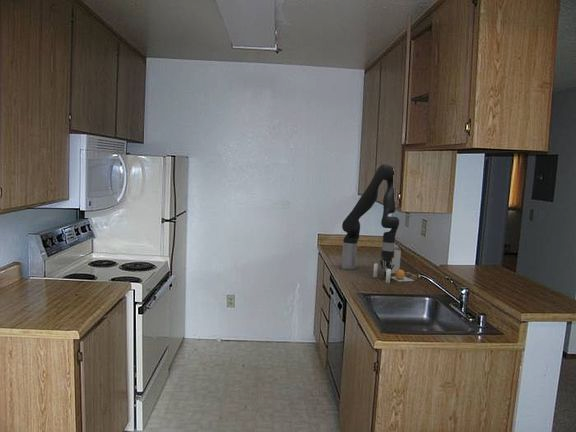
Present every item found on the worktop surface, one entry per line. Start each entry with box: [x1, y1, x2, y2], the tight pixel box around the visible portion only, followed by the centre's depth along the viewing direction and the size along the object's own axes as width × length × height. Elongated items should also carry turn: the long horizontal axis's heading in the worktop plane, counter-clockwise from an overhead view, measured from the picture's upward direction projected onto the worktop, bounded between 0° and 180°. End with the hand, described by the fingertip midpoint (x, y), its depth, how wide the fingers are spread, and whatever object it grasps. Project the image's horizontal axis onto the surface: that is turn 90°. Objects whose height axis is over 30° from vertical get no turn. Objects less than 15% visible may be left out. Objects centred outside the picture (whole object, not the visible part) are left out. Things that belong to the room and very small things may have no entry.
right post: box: [385, 269, 392, 284], centre depth 283 cm, size 3×3×8 cm
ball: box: [394, 269, 406, 279], centre depth 293 cm, size 6×6×6 cm
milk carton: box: [391, 243, 402, 275], centre depth 311 cm, size 7×7×19 cm
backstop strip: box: [404, 271, 418, 282], centre depth 297 cm, size 10×2×3 cm, turn 18°
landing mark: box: [390, 276, 415, 282], centre depth 295 cm, size 11×11×1 cm
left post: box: [372, 262, 379, 278], centre depth 297 cm, size 3×3×8 cm
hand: (385, 277), depth 291 cm, fingers closed
